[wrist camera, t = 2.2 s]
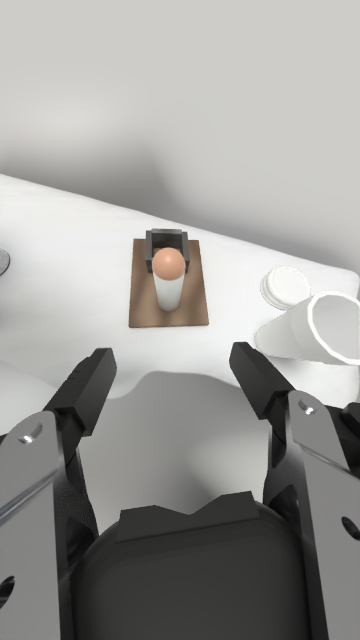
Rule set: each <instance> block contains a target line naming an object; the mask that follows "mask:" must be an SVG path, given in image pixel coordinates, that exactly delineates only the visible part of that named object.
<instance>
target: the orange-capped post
mask: <svg viewBox="0 0 360 640" xmlns="http://www.w3.org/2000/svg"><path fill="white" fill-rule="evenodd" d="M185 267H186V266H185V260H184V258H183V256H182V254H181V253H180V252H179V251H177V250H176V249H174V248H163V249H161V250H159V251H158V252H157V253H156V254H155V256H154V258H153V261H152V269H153V275H154V281H155V286H156V292H157V297H158V303H159V306H160V308H161V309H162V310H164V311H167V312H171V311H174V310H176V309H177V308H178V306H179V303H180V297H181V291H182V285H183V279H184V274H185Z"/></svg>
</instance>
